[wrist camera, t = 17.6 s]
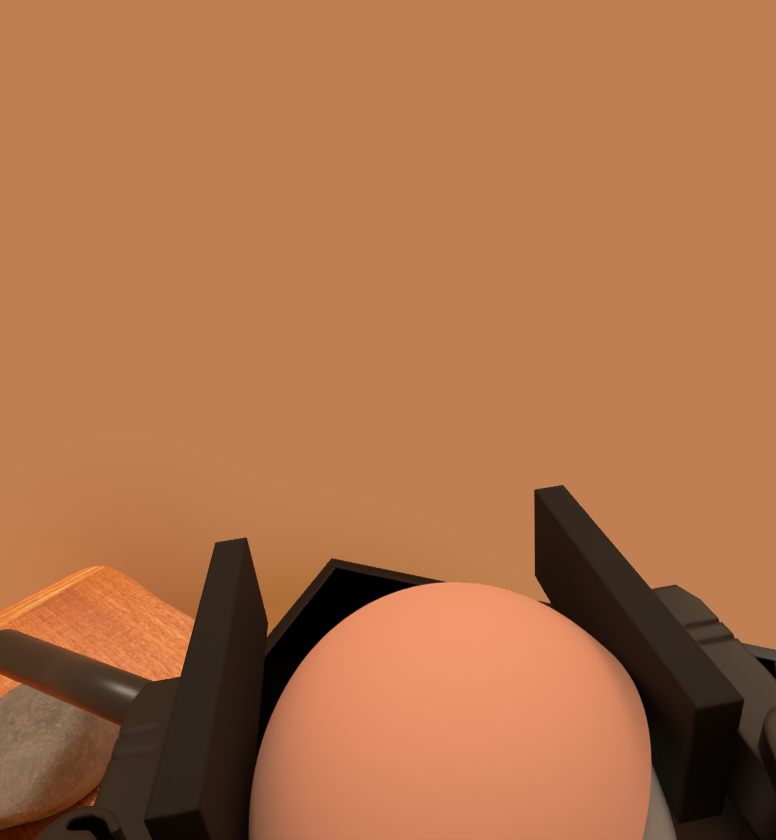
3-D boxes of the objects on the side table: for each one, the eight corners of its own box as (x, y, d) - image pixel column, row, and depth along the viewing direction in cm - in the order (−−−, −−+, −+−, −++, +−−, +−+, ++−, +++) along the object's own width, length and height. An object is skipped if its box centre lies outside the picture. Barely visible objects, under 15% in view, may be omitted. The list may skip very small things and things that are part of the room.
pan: (764, 763, 15) (791, 648, 13) (971, 2162, 5) (1204, 2415, 3) (170, 597, 24) (143, 517, 23) (-212, 945, 14) (-314, 842, 12)
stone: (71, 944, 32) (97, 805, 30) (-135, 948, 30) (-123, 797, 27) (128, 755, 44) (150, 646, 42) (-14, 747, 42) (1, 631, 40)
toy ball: (669, 1360, 8) (758, 1113, 4) (211, 1070, 11) (71, 800, 7) (656, 792, 14) (688, 532, 11) (377, 712, 17) (341, 490, 14)
